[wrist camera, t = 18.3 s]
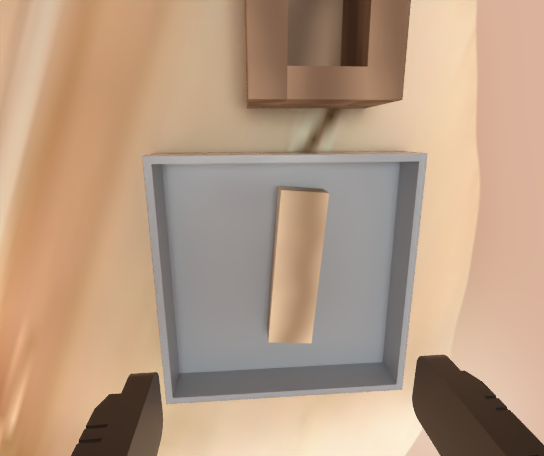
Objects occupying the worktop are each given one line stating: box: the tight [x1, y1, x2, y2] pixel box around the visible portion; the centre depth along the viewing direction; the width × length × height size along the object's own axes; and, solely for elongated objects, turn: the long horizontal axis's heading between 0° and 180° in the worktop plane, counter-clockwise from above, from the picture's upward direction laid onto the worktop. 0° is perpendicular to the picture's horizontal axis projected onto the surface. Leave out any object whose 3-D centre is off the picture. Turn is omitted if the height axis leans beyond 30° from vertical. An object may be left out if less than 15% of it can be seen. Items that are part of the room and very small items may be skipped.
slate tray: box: [142, 151, 427, 404], centre depth 32 cm, size 22×22×4 cm
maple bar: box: [267, 186, 329, 343], centre depth 31 cm, size 4×14×2 cm, turn 176°
